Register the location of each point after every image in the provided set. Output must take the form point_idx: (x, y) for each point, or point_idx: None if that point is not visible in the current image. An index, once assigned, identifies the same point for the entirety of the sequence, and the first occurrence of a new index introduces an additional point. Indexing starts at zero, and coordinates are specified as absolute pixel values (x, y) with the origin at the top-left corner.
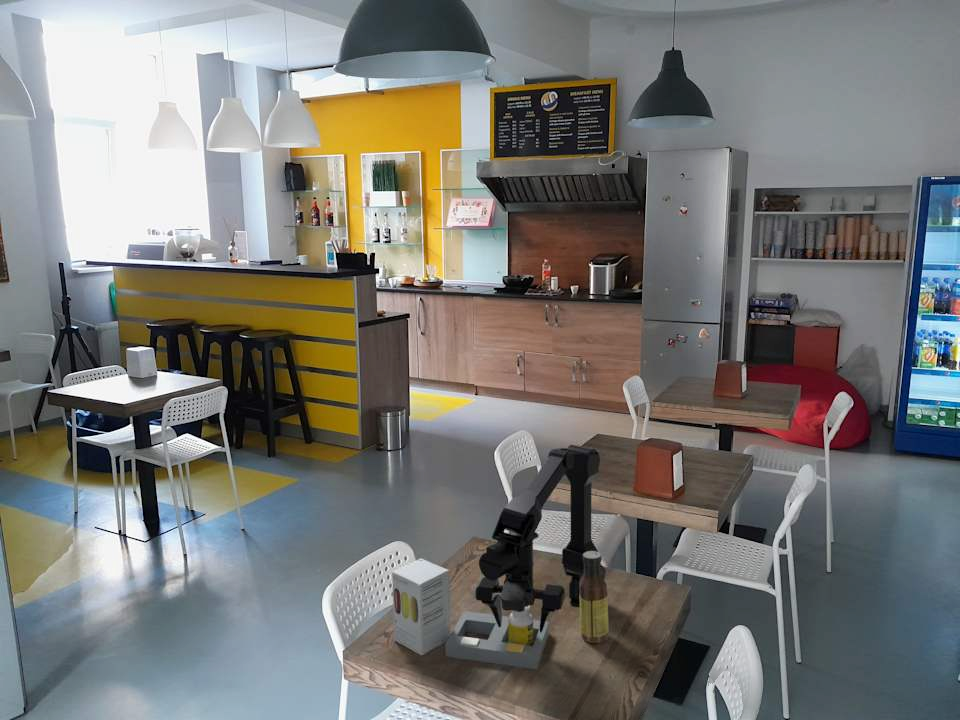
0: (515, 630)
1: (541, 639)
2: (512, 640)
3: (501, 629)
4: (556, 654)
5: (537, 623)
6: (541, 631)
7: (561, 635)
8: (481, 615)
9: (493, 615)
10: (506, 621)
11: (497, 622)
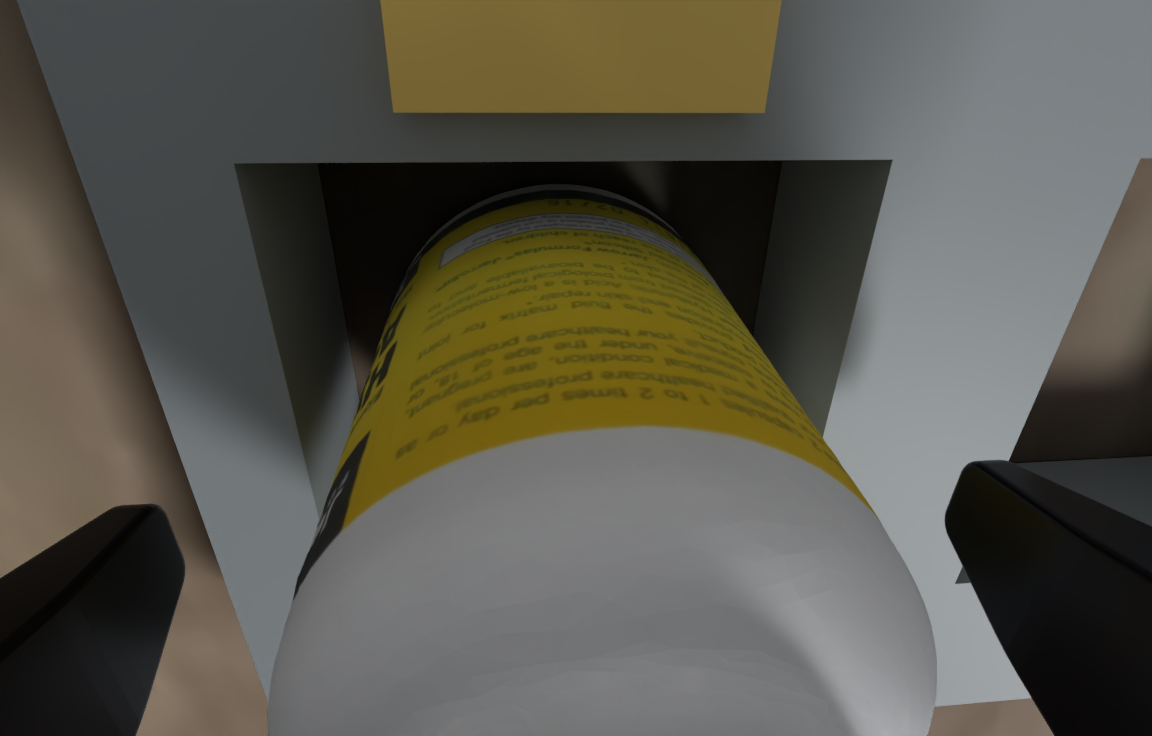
0: (672, 360)
1: (185, 413)
2: (683, 268)
3: (880, 489)
4: (45, 310)
5: None
6: (100, 520)
7: (190, 633)
8: None
9: (967, 694)
10: None
11: (1107, 516)
